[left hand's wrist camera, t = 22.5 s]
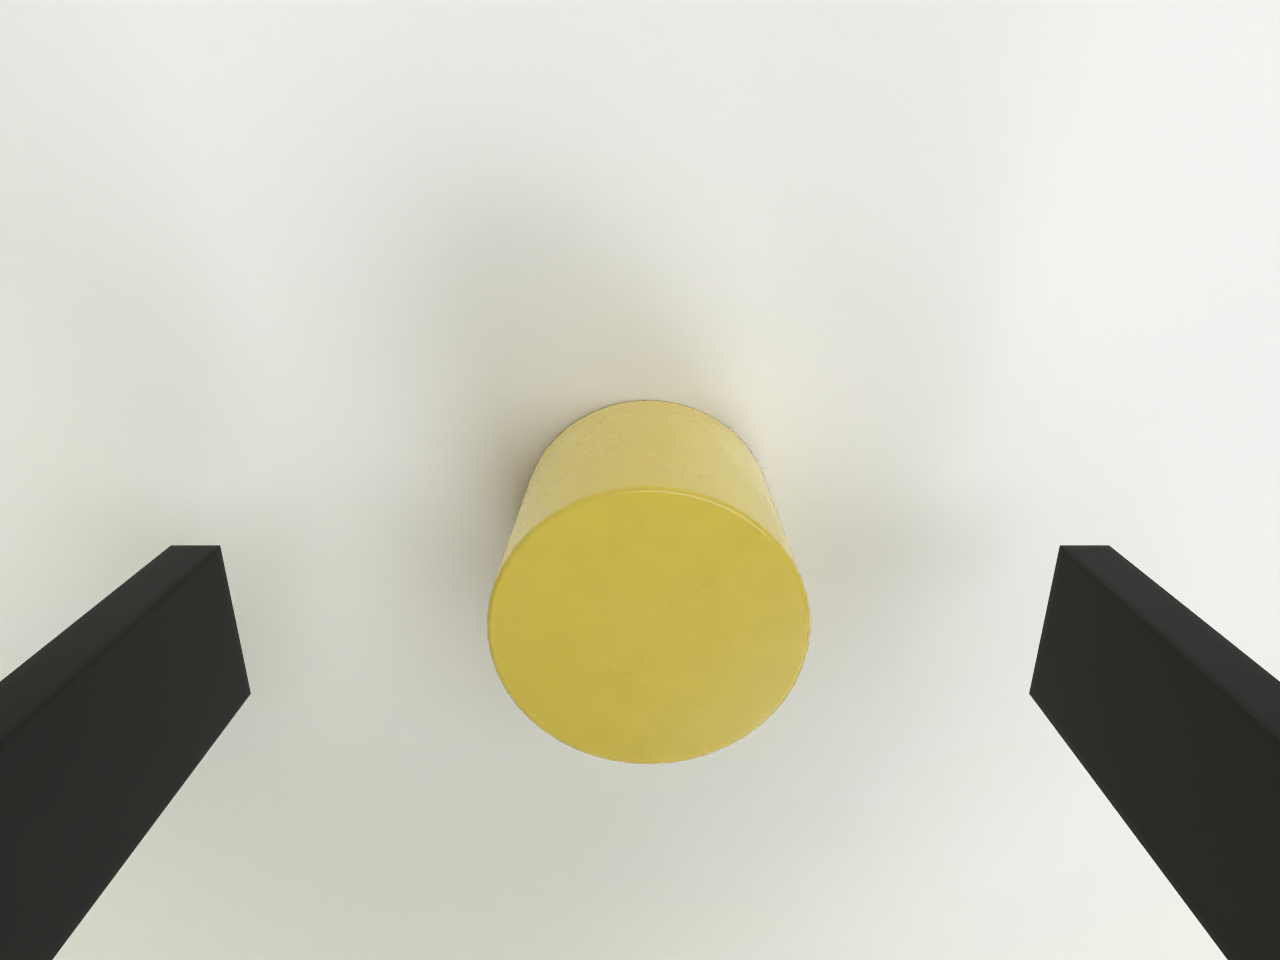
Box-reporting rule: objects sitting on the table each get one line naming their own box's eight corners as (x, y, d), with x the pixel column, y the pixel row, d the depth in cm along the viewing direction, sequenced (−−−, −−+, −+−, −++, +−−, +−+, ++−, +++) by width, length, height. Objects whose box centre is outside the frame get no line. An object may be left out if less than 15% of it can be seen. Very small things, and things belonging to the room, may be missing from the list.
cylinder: (765, 618, 17) (803, 763, 13) (535, 623, 17) (502, 769, 13) (773, 395, 15) (820, 482, 11) (515, 402, 15) (468, 491, 11)
